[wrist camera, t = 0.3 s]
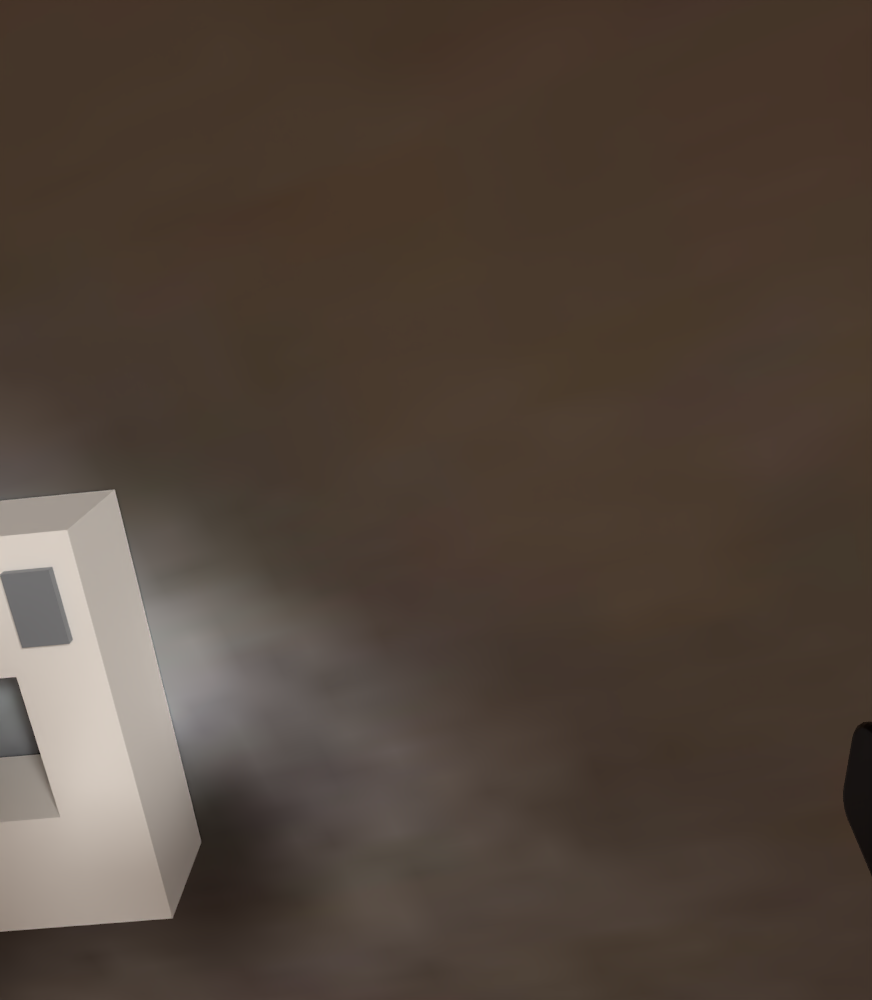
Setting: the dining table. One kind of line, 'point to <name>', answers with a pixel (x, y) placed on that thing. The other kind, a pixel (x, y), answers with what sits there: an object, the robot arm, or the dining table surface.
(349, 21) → the dining table surface
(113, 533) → the socket block
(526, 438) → the dining table surface
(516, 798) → the dining table surface
